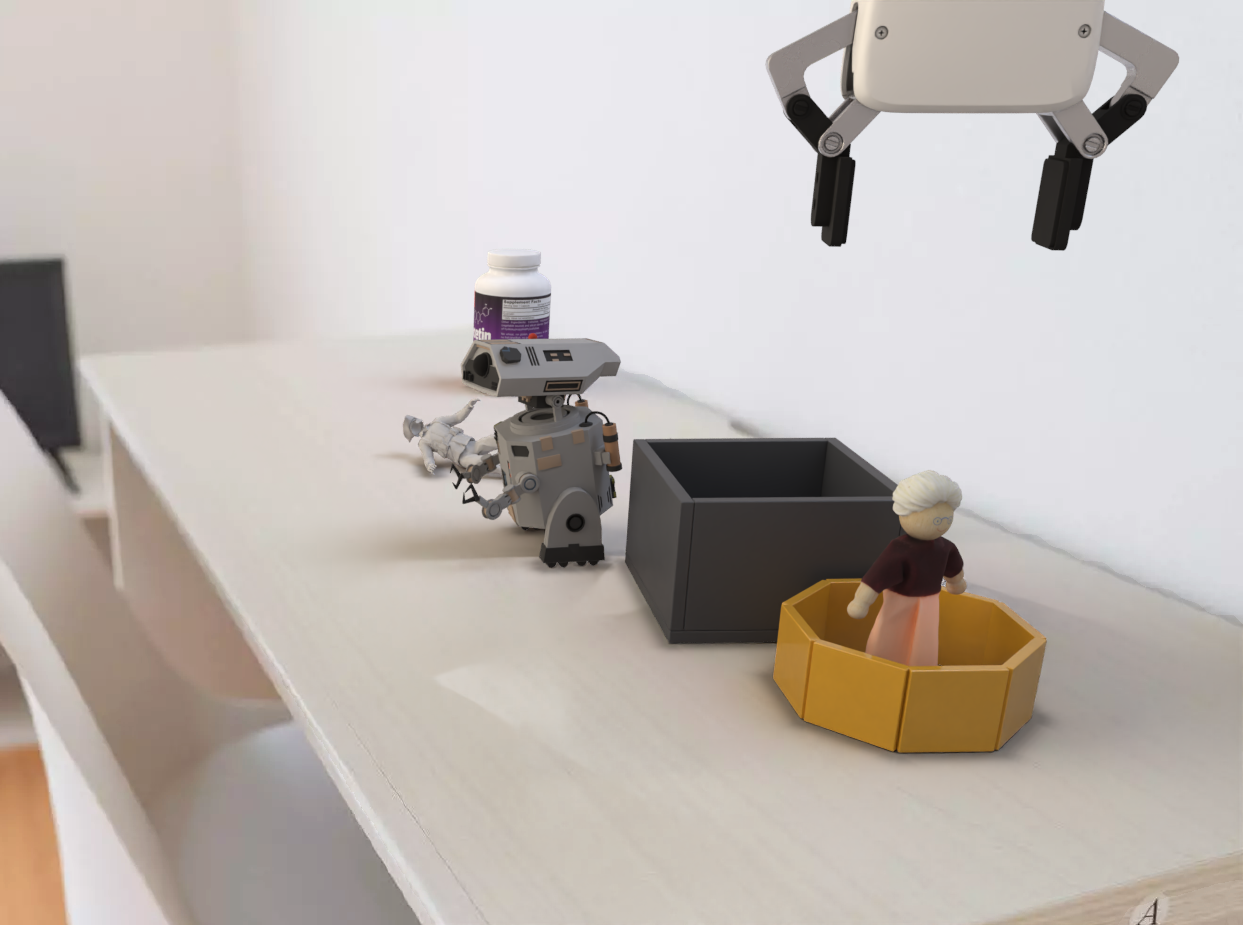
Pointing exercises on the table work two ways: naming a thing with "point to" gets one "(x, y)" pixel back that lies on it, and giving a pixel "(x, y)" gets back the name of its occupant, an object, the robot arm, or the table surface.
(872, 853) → the table surface
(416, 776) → the table surface
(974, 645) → the yellow octagonal ring
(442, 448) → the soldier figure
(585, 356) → the figurine
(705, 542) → the bin
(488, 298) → the pill bottle
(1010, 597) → the table surface
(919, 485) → the grandmother figurine
